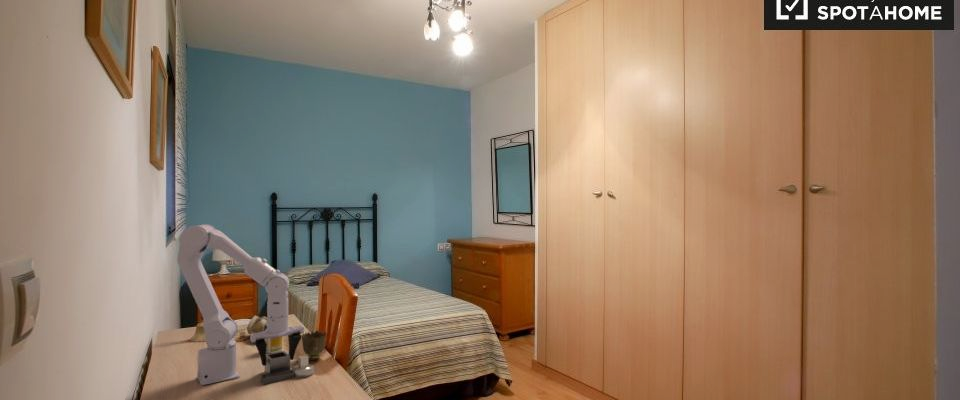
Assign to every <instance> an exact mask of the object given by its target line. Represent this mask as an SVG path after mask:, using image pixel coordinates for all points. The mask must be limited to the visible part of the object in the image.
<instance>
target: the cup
mask: <svg viewBox="0 0 960 400" xmlns="http://www.w3.org/2000/svg"><path fill="white" fill-rule="evenodd" d="M326 339H327V332H325V331H324V332H323V333H322V330H321V331H318V330H315V331H313V330H312V331H311V333H310V331H307V332H304V333H303V334H301V340H302V341H301V342H302V348H303V352H304V354H305V355H306V356H308V361H317V360H319V358H320V356H321V355H320V354H322V353H323V351H324V350H325V346H326Z"/></svg>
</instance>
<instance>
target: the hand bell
mask: <svg viewBox="0 0 960 400" xmlns="http://www.w3.org/2000/svg"><path fill="white" fill-rule="evenodd" d="M200 314H201V313H200ZM203 322H204V318H203V316H202V314H201V315H200V322H199V323H197V324H196V328H195V332H194V334H193V336H191V337H190V339H189V340H190V342H193V343H194V342H195V343H204V342H205V330H204V328H203Z"/></svg>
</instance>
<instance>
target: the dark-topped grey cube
mask: <svg viewBox="0 0 960 400" xmlns="http://www.w3.org/2000/svg"><path fill="white" fill-rule="evenodd" d="M287 370H291V360H290V355H289V353H288V352H286V351H285V350H283V351H282V350H281V351H280V352H277V353H266V365H265V366H264V374H268V373H270V374H274V373H278V372H283V371H287Z"/></svg>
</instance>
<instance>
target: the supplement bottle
mask: <svg viewBox="0 0 960 400" xmlns="http://www.w3.org/2000/svg"><path fill="white" fill-rule="evenodd" d="M266 330H267V329H266ZM266 330H265V331H266ZM265 343H266V344H267V347H266V354H271V353H277V352H282V350H283V336H282V337H277V338H271V339H265Z"/></svg>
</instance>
